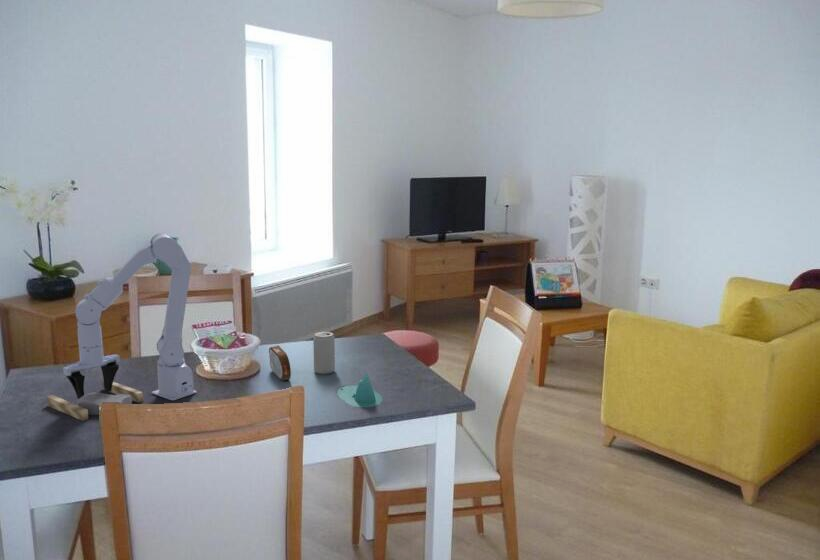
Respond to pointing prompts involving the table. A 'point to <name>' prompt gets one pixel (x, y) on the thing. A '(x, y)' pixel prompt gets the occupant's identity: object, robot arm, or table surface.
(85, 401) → the stone block
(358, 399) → the diorama
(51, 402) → the pair of wooden posts
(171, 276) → the robot arm
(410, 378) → the table surface
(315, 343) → the beverage can
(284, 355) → the bread slice
